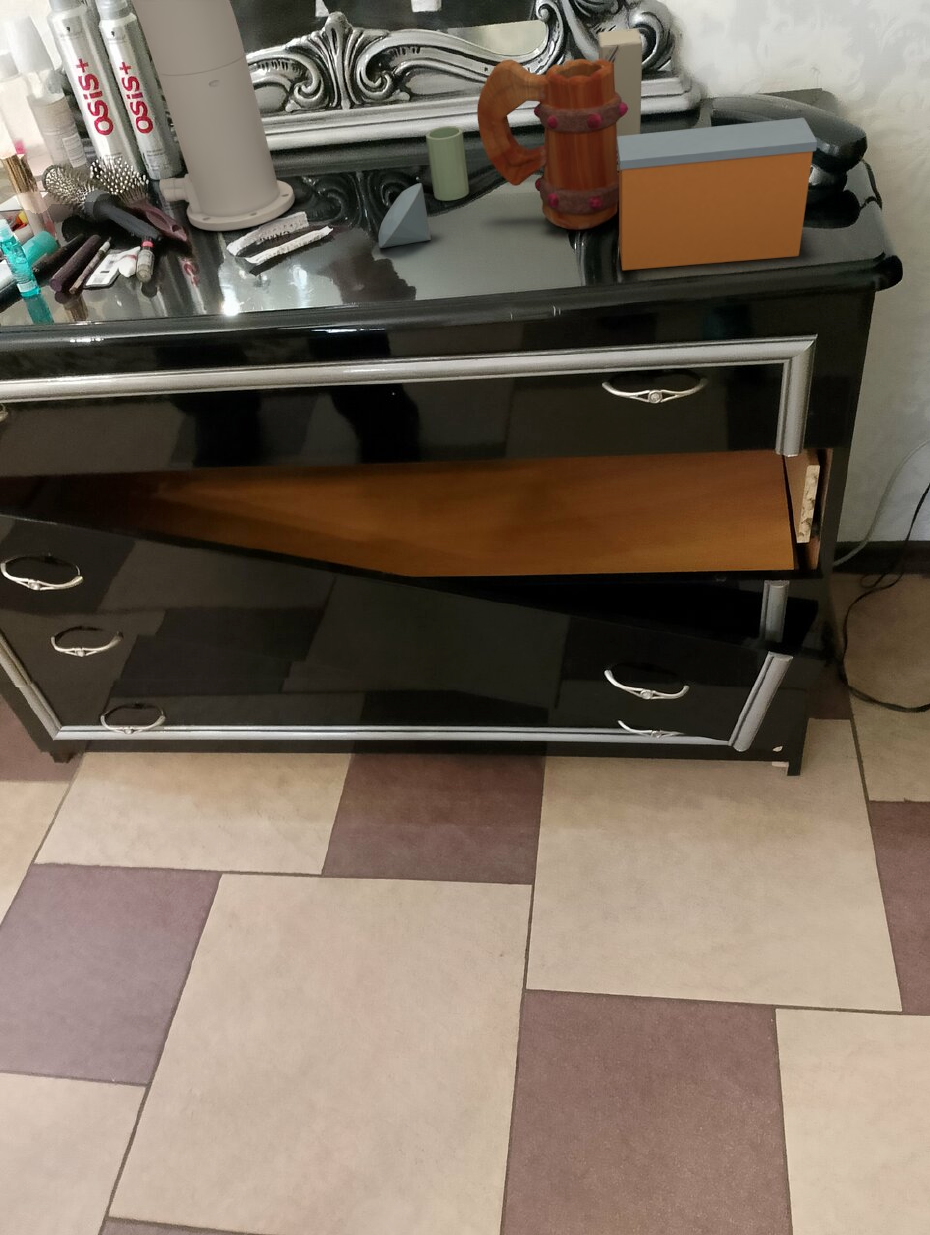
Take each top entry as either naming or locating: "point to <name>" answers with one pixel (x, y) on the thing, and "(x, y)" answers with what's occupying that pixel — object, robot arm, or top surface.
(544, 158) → the mug
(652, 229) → the container
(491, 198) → the top surface
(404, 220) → the gemstone
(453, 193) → the cup
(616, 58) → the box
